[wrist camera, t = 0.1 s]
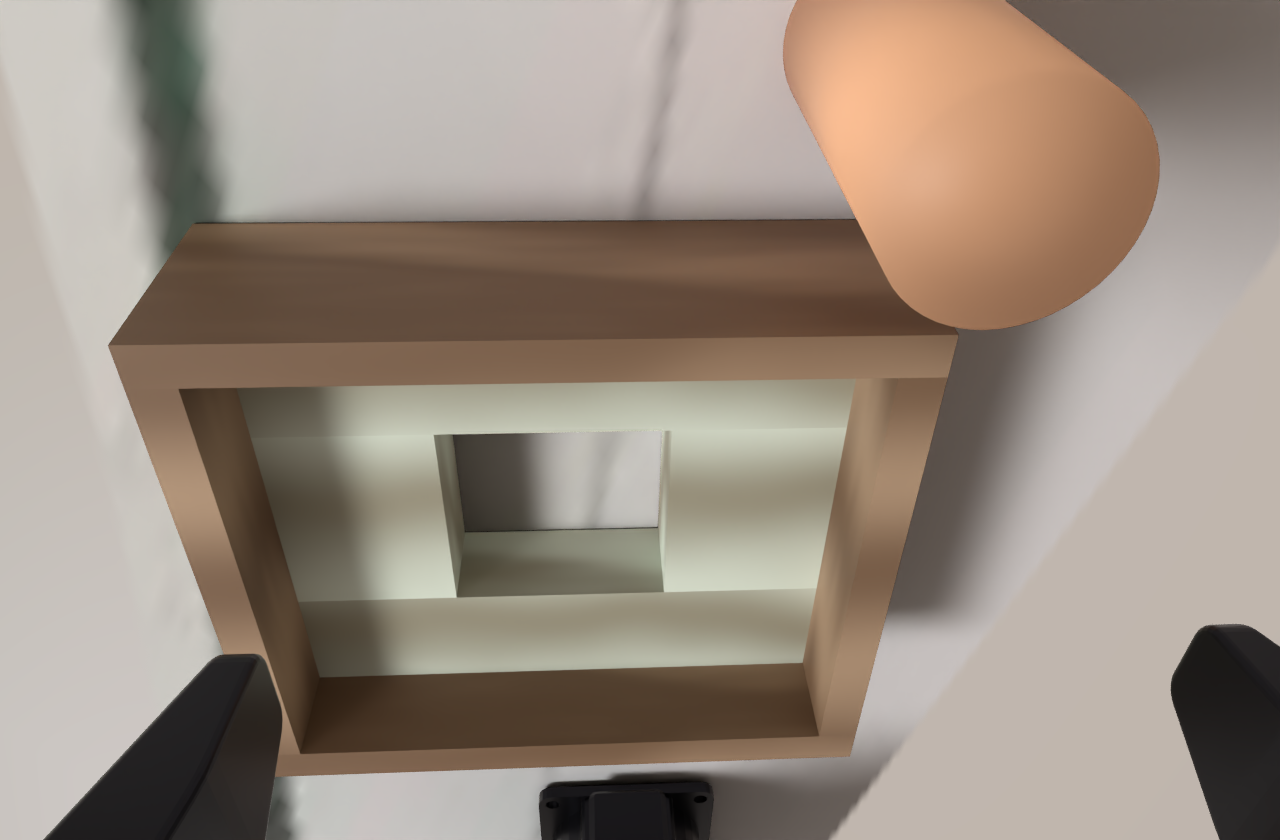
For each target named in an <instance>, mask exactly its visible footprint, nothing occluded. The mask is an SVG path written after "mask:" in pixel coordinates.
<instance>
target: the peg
mask: <svg viewBox="0 0 1280 840" xmlns="http://www.w3.org/2000/svg"><path fill="white" fill-rule="evenodd" d="M783 61H784V70H785V74H786V79H787V82H788V84H789V87H790V90H791V92H792V94H793V96H794V98H795V100H796V102H797V104H798V106H799V108H800V110H801V112H802V114H803V115H804V117H805V119H806V121H807V123H808V125H809V127H810V129H811V131H812V133H813V135H814V137H815V139H816V141H817V143H818V145H819V147H820V149H821V151H822V153H823V155H824V156H825V158H826V160H827V162H828V164H829V166H830V168H831V170H832V172H833V174H834V176H835V178H836V180H837V182H838V184H839V186H840V188H841V190H842V192H843V194H844V195H845V197H846V199H847V201H848V203H849V205H850V207H851V209H852V211H853V213H854V215H855V217H856V219H857V221H858V223H859V225H860V227H861V229H862V231H863V233H864V235H865V236H866V238H867V240H868V242H869V244H870V246H871V248H872V250H873V252H874V254H875V256H876V258H877V260H878V262H879V264H880V266H881V268H882V270H883V272H884V274H885V275H886V277H887V279H888V281H889V283H890V284H891V286H892V288H893V289H894V290H895V292H896V293H897V294H898V295H899V297H900V298H901V299H902V300H903V301H904V302H905V303H907V304H908V305H909V306H910V307H911V308H912V309H914V310H915V311H917V312H918V313H920V314H921V315H923V316H925V317H927V318H929V319H931V320H933V321H935V322H938V323H941V324H944V325H948V326H951V327H956V328H962V329H972V330H991V329H1002V328H1008V327H1014V326H1018V325H1022V324H1025V323H1029V322H1033V321H1035V320H1038V319H1041V318H1043V317H1046V316H1048V315H1051V314H1053V313H1055V312H1057V311H1059V310H1061V309H1063V308H1065V307H1067V306H1068V305H1070V304H1072V303H1073V302H1075V301H1076V300H1078V299H1080V298H1081V297H1083V296H1084V295H1085V294H1087V293H1088V292H1089V291H1091V290H1092V289H1093V288H1095V287H1096V286H1097V285H1098V284H1099V283H1101V282H1102V281H1103V280H1104V279H1105V278H1106V277H1107V276H1108V275H1109V274H1110V273H1111V272H1112V271H1113V270H1114V269H1115V268H1116V267H1117V266H1118V265H1119V263H1120V262H1121V261H1122V260H1123V259H1124V258H1125V256H1126V255H1127V254H1128V252H1129V251H1130V250H1131V248H1132V247H1133V245H1134V244H1135V243H1136V241H1137V239H1138V237H1139V236H1140V234H1141V232H1142V230H1143V229H1144V227H1145V225H1146V222H1147V220H1148V218H1149V215H1150V213H1151V211H1152V208H1153V204H1154V201H1155V198H1156V194H1157V188H1158V182H1159V167H1160V159H1159V152H1158V145H1157V141H1156V138H1155V135H1154V132H1153V129H1152V127H1151V125H1150V123H1149V121H1148V119H1147V117H1146V115H1145V114H1144V112H1143V111H1142V110H1141V108H1140V107H1139V106H1138V105H1137V103H1136V102H1135V101H1134V100H1133V99H1132V98H1131V97H1129V96H1128V95H1127V94H1126V93H1125V92H1124V91H1123V90H1121V89H1120V88H1119V87H1117V86H1116V85H1115V84H1113V83H1112V82H1111V81H1110V80H1108V79H1107V78H1106V77H1104V76H1103V75H1102V74H1100V73H1099V72H1098V71H1096V70H1095V69H1094V68H1093V67H1091V66H1090V65H1089V64H1087V63H1086V62H1085V61H1083V60H1082V59H1081V58H1079V57H1078V56H1077V55H1076V54H1074V53H1073V52H1072V51H1070V50H1069V49H1068V48H1066V47H1065V46H1064V45H1062V44H1061V43H1060V42H1059V41H1057V40H1056V39H1055V38H1053V37H1052V36H1051V35H1049V34H1048V33H1047V32H1045V31H1044V30H1043V29H1041V28H1040V27H1039V26H1038V25H1036V24H1035V23H1034V22H1032V21H1031V20H1030V19H1028V18H1027V17H1026V16H1024V15H1023V14H1022V13H1021V12H1019V11H1018V10H1017V9H1015V8H1014V7H1013V6H1011V5H1010V4H1009V3H1007V2H1006V1H1005V0H797V1H796V3H795V5H794V8H793V10H792V12H791V15H790V17H789V20H788V24H787V27H786V31H785V37H784V45H783Z"/></svg>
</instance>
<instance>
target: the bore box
mask: <svg viewBox="0 0 1280 840" xmlns="http://www.w3.org/2000/svg"><path fill="white" fill-rule="evenodd" d="M958 336H959V334H958V333H957V331H956V329H955V327H951V326H948V325H944V324H941V323H938V322H935V321H933V320H931V319H929V318H927V317H925V316H923V315H921V314H920V313H918V312H917V311H915V310H914V309H912V308H911V307H910V306H909V305H908V304H907V303H905V302H904V301H903V300H902V299H901V298H900V297H899V295H898V294H897V293H896V292H895V290H894V289H893V288H892V286H891V284H890V283H889V281H888V279H887V277H886V275H885V274H884V272H883V270H882V268H881V266H880V264H879V262H878V260H877V258H876V256H875V254H874V252H873V250H872V248H871V246H870V244H869V242H868V240H867V238H866V236H865V235H864V233H863V231H862V229H861V227H860V225H859V223H858V221H857V220H736V221H569V222H402V223H235V224H192V226H191V227H190V229H189V230H188V231H187V233H186V234H185V236H184V237H183V239H182V240H181V241H180V243H179V244H178V246H177V247H176V249H175V250H174V251H173V253H172V254H171V256H170V257H169V259H168V260H167V262H166V263H165V264H164V266H163V267H162V269H161V270H160V272H159V273H158V274H157V276H156V277H155V279H154V280H153V282H152V283H151V285H150V286H149V287H148V289H147V290H146V292H145V293H144V295H143V296H142V297H141V299H140V300H139V302H138V303H137V305H136V306H135V307H134V309H133V310H132V312H131V313H130V315H129V316H128V318H127V319H126V320H125V322H124V323H123V325H122V326H121V328H120V329H119V330H118V332H117V333H116V335H115V336H114V338H113V339H112V341H111V342H110V343H109V345H108V347H109V349H110V352H111V355H112V357H113V360H114V363H115V365H116V368H117V371H118V373H119V376H120V379H121V381H122V384H123V387H124V389H125V392H126V395H127V397H128V400H129V403H130V405H131V408H132V411H133V413H134V416H135V419H136V421H137V424H138V427H139V429H140V432H141V435H142V437H143V440H144V443H145V445H146V448H147V451H148V453H149V456H150V459H151V461H152V464H153V467H154V469H155V472H156V475H157V477H158V480H159V483H160V485H161V488H162V491H163V493H164V496H165V498H166V501H167V504H168V506H169V509H170V512H171V514H172V517H173V520H174V522H175V525H176V528H177V530H178V533H179V536H180V538H181V541H182V544H183V546H184V549H185V552H186V554H187V557H188V560H189V562H190V565H191V568H192V570H193V573H194V576H195V578H196V581H197V584H198V586H199V589H200V592H201V594H202V597H203V600H204V602H205V605H206V608H207V610H208V613H209V616H210V618H211V621H212V624H213V626H214V629H215V632H216V634H217V637H218V640H219V642H220V645H221V648H222V650H223V653H224V654H259V655H261V656H262V657H263V658H264V659H265V661H266V663H267V666H268V669H269V672H270V675H271V678H272V681H273V683H274V686H275V689H276V692H277V695H278V698H279V701H280V704H281V708H282V719H283V722H282V734H281V740H280V747H279V753H278V760H277V766H276V773H275V777H281V776H309V775H337V774H366V773H394V772H422V771H451V770H479V769H507V768H536V767H564V766H592V765H620V764H649V763H677V762H705V761H734V760H762V759H790V758H819V757H847V756H850V754H851V750H852V746H853V742H854V738H855V734H856V731H857V727H858V723H859V719H860V715H861V711H862V707H863V703H864V700H865V696H866V692H867V688H868V684H869V680H870V676H871V673H872V669H873V665H874V661H875V657H876V653H877V649H878V645H879V642H880V638H881V634H882V630H883V626H884V622H885V618H886V615H887V611H888V607H889V603H890V599H891V595H892V591H893V588H894V584H895V580H896V576H897V572H898V568H899V564H900V560H901V557H902V553H903V549H904V545H905V541H906V537H907V533H908V530H909V526H910V522H911V518H912V514H913V510H914V506H915V502H916V499H917V495H918V491H919V487H920V483H921V479H922V475H923V472H924V468H925V464H926V460H927V456H928V452H929V448H930V445H931V441H932V437H933V433H934V429H935V425H936V421H937V417H938V414H939V410H940V406H941V402H942V398H943V394H944V390H945V387H946V383H947V379H948V375H949V371H950V367H951V363H952V360H953V356H954V352H955V348H956V344H957V340H958ZM618 431H662V442H661V466H660V491H659V515H658V528H644V529H600V530H556V531H512V532H467V533H465V528H464V520H463V512H462V504H461V496H460V488H459V480H458V472H457V464H456V457H455V449H454V441H453V434H503V433H561V432H618Z"/></svg>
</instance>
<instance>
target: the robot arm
mask: <svg viewBox="0 0 1280 840" xmlns="http://www.w3.org/2000/svg"><path fill="white" fill-rule="evenodd" d="M1171 696H1172V701H1173V704H1174V708H1175V710H1176V713H1177V716H1178V719H1179V722H1180V725H1181V728H1182V731H1183V734H1184V737H1185V740H1186V743H1187V746H1188V749H1189V752H1190V755H1191V758H1192V761H1193V764H1194V767H1195V770H1196V773H1197V776H1198V778H1199V782H1200V784H1201V788H1202V790H1203V793H1204V796H1205V799H1206V802H1207V805H1208V808H1209V811H1210V814H1211V817H1212V820H1213V823H1214V826H1215V829H1216V831H1217V834H1218V836H1219V839H1220V840H1280V646H1278V645H1277V644H1275V643H1274V642H1272V641H1271V640H1270V639H1268V638H1267V637H1265V636H1264V635H1263V634H1261V633H1260V632H1258V631H1257V630H1255V629H1253V628H1251V627H1249V626H1246V625H1241V624H1224V625H1208V626H1204V627H1203V628H1201V629H1200V630H1198V632H1197V633H1196V634H1195V636H1194V638H1193V640H1192V641H1191V643H1190V645H1189V647H1188V649H1187V651H1186V652H1185V654H1184V656H1183V658H1182V659H1181V662H1180V663H1179V665H1178V667H1177V668H1176V670H1175V672H1174V674H1173V676H1172V681H1171ZM282 722H283V719H282V708H281V704H280V701H279V698H278V695H277V692H276V689H275V686H274V683H273V681H272V678H271V675H270V672H269V669H268V666H267V663H266V661H265V659H264V658H263V657H262V656H261V655H259V654H224V655H219V656H217V657H215V658H213V659H212V660H211V661H210V662H208V663H207V664H206V666H205V667H204V668H203V669H202V670H201V671H200V672H199V673H198V674H197V675H196V676H195V677H194V678H193V679H192V681H191V682H190V683H189V684H188V685H187V686H186V687H185V688H184V689H183V690H182V691H181V692H180V693H179V695H178V696H177V697H176V698H175V699H174V700H173V701H172V702H171V703H170V704H169V705H168V706H167V707H166V708H165V710H164V711H163V712H162V713H161V714H160V715H159V716H158V717H157V718H156V719H155V720H154V721H153V722H152V724H151V725H150V726H149V727H148V728H147V729H146V730H145V731H144V732H143V733H142V734H141V735H140V737H139V738H138V739H137V740H136V741H135V742H134V743H133V744H132V745H131V746H130V747H129V748H128V749H127V750H126V751H125V753H124V754H123V755H122V756H121V757H120V758H119V759H118V760H117V761H116V762H115V763H114V764H113V765H112V766H111V768H110V769H109V770H108V771H107V772H106V773H105V774H104V775H103V776H102V777H101V778H100V780H98V782H97V783H96V784H95V785H94V786H93V787H92V788H91V789H90V790H89V791H88V792H87V793H86V794H85V796H84V797H83V798H82V799H81V800H80V801H79V802H78V803H77V804H76V805H75V806H74V807H73V808H72V810H71V811H70V812H69V813H68V814H67V815H66V816H65V817H64V818H63V819H62V820H61V821H60V823H59V824H58V825H57V826H56V827H55V828H54V829H53V830H52V831H51V832H50V833H49V834H48V835H47V836H46V837H45V839H44V840H265V838H266V831H267V825H268V818H269V812H270V805H271V799H272V792H273V786H274V779H275V773H276V766H277V760H278V753H279V747H280V740H281V734H282ZM713 800H714V798H713V790H712V786H711V785H710V784H708V783H705V782H689V783H661V784H634V785H606V786H579V787H552V788H546V789H544V790H542V791H541V792H540V795H539V812H540V824H541V837H542V840H709V834H710V826H711V817H712V809H713Z"/></svg>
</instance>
